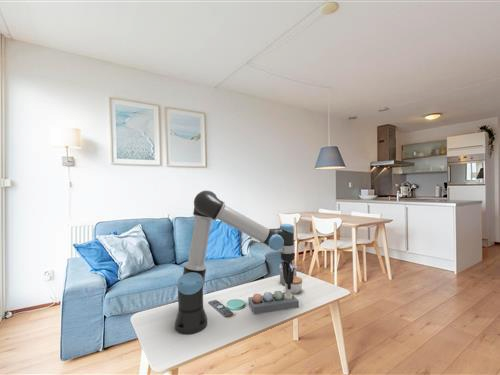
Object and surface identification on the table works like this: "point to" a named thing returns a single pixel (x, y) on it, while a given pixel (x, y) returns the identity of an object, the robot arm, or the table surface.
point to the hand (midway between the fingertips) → (288, 294)
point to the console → (273, 304)
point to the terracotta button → (257, 298)
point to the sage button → (278, 295)
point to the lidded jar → (296, 285)
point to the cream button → (287, 296)
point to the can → (282, 274)
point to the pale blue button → (267, 297)
